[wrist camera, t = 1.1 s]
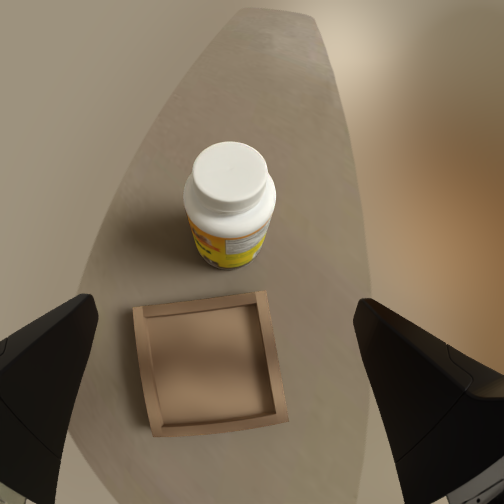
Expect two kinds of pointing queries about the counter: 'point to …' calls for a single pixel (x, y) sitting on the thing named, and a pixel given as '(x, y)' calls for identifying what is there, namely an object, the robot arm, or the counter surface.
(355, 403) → the counter surface
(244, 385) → the walnut tray
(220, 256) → the supplement bottle
